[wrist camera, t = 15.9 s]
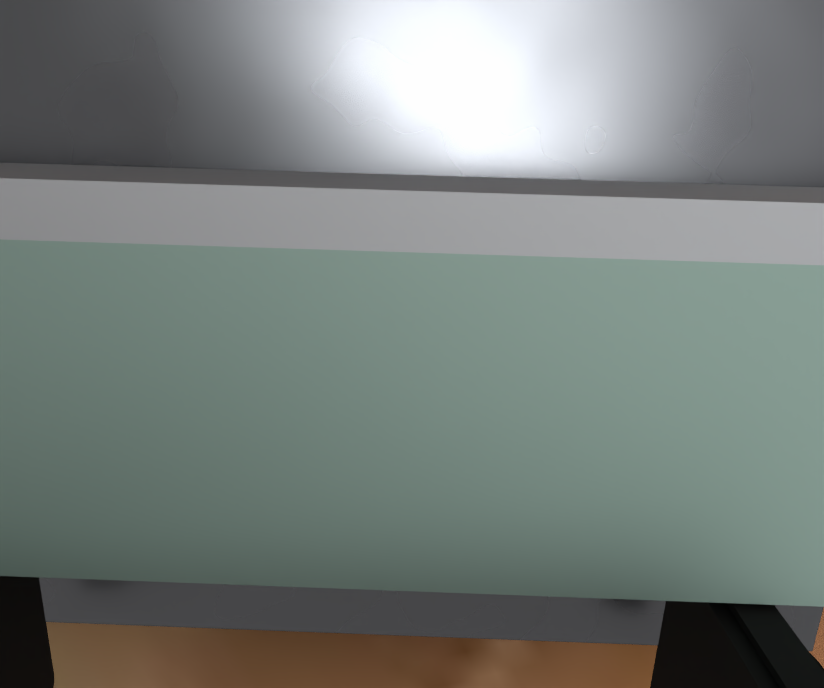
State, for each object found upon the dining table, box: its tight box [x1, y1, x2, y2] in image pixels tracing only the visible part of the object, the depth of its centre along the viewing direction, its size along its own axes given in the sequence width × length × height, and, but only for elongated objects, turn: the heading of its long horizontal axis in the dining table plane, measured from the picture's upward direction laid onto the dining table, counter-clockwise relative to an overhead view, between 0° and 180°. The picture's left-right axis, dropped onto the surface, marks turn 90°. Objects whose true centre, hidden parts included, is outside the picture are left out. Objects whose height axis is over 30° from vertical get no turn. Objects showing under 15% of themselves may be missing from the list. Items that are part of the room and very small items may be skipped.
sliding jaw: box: [0, 163, 824, 607], centre depth 8 cm, size 14×5×2 cm, turn 88°
